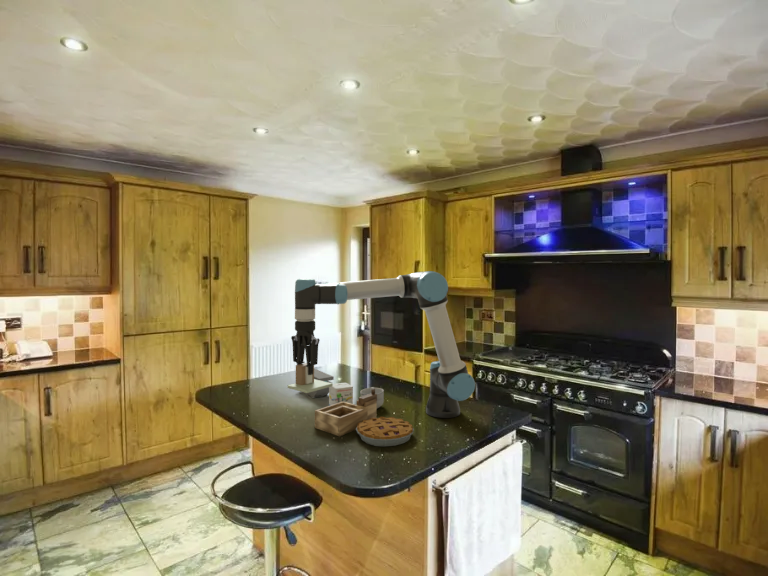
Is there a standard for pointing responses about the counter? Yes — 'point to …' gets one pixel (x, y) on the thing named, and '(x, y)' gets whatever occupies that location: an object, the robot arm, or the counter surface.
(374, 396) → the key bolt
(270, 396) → the counter surface
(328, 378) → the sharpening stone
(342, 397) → the ink box
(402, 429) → the pie
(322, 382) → the lid
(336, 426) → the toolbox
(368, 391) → the teacup
